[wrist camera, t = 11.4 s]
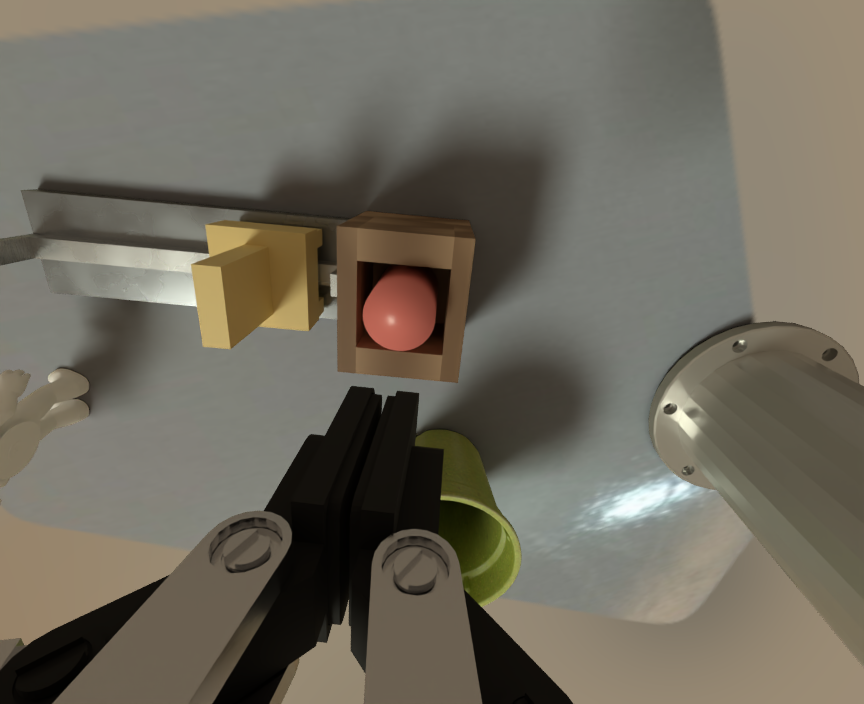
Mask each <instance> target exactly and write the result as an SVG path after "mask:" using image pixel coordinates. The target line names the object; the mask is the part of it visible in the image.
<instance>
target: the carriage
mask: <svg viewBox="0 0 864 704" xmlns="http://www.w3.org/2000/svg"><path fill="white" fill-rule="evenodd" d="M205 227H206V234H207V242H208V250H209V258H206V259H204V260H201V261H198V262H196V263H193V264H191V269H192V276H193V282H194V289H195V296H196V302H197V309H198V316H199V322H200V329H201V336H202V342H203V347H212V348H223V349H231V348H233V347H234V346H235V345H236V344H237V343H239V342H240V341H241V340H242V339H244V338H245V337H246V336H247V335H248V334H250V333H251V332H252V331H253V330H254V329H256V328H257V327H258V326H259V327H270V328H281V329H291V330H302V331H309V330H310V329H311V328H312V327H313V326H314V325H315V323H316V322H317V321H318V320H319V316H320V315H321V314H322V313H323V312H324V297H319V291H318V253H317V248H318V247H320V246H322V229H317V228H307V227H296V226H285V225H274V224H263V223H253V222H242V221H230V220H223V221H219V222H214V223H210V224H205Z"/></svg>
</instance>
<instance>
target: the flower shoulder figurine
mask: <svg viewBox="0 0 864 704" xmlns="http://www.w3.org/2000/svg"><path fill="white" fill-rule="evenodd" d="M24 373H25V372H24V371H22V370H15V371H12V370H6V371H4V372H3V373H2V374H1V375H0V488H1V487H4V486H5V485H6V484H7V483H8V481H9V479H10V478H11V477H13V476H15V475H16V474H18V473H19V472H20V471H21V470H22V469H23V468H24V467H25V466H26V465H27V464H28V463H29V462H30V460H31V459H32V457H33V456H34V454H35V452H36V450H37V447H38V444H39V441H40V440H41V439H42V438H44V437H45V436H46V435H48V434H49V433H50V432H51V431H52V430H54V429H57V428H61V427H65V426H68V425H72V424H75V423H77V422H79V421H81V420H83V419H85V418H87V417H88V416H89V408H88V406H87V404H86V403H85V402H83V401H81V400H79V399H73V398H76V397H78V396H81V395H83V394H84V393H86V392H87V391H88V390H89V382H88V380H87V379H86V378H85V377H84V376H82V375H81V374H78V373H76V372H74V371H71V370H68V369H62V368H60V369H57V370H55V371H53V372H52V373H51V374H50V375H49V376H48V380H49V382H50V383H49V384H47V385H45V386H43V387H40V388H39V389H37V390H35V391H34V392H33V393H31V394H30V395H28V396H27V397H25V398H24V399H22V400H21V401H20V402H19V403H18V400H17V398H18V397H20V396H21V395H22V394H23V392H24V391H25V389H26V386H27V383H28V381H29V379H30V376H31V375H30V374H28V373H26V374H24ZM23 374H24V375H23ZM22 375H23V376H22ZM50 409H51V410H50ZM1 501H2V500H1V499H0V504H1Z"/></svg>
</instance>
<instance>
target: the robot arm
mask: <svg viewBox="0 0 864 704" xmlns="http://www.w3.org/2000/svg"><path fill="white" fill-rule="evenodd" d="M418 404H419V393H413V392H403V391H397V393H396V396H388V397H387V399H386V402H385V405H384V408H383V411H382V395H377V394H375V391H374V388H366V387H357V386H351V387H350V389H349V391H348V393H347V395H346V397H345V399H344V400H343V402H342V404H341V406H340V408H339V410H338V412H337V414H336V416H335V418H334V420H333V421H332V423H331V425H330V427H329V429H328V431H327V433H326V435H325V436H323V435H314V434H311V435H309V436H308V437H307V439H306V440H305V442H304V444H303V445H302V447H301V449H300V450H299V452H298V454H297V455H296V457H295V459H294V460H293V462H292V464H291V466H290V467H289V469H288V471H287V472H286V474H285V476H284V477H283V479H282V481H281V482H280V484H279V486H278V488H277V489H276V491H275V493H274V494H273V496H272V498H271V499H270V501H269V503H268V505H267V506H266V508H265V510H264V511H252V512H245V513H242V514H238V515H235V516H232V517H230V518H228V519H227V520H225V521H223V522H221V523H219V524H218V525H217V526H216V527H215V528H214V529H212V530H211V531H210V532H209V533H208V534H207V535H206V536H205V537H204V538H203V539H202V540H201V542H200V543H199V544H198V545H197V546H196V547H195V548H194V549H193V550H192V551H191V552H190V554H189V555H188V556H187V557H186V558H185V559H184V560H183V561H182V562H181V563H180V564H179V566H178V567H177V568H176V569H175V570H174V571H173V572H172V573H171V574H170V575H168V576H166V577H164V578H162V579H160V580H158V581H156V582H153V583H151V584H149V585H147V586H145V587H143V588H141V589H139V590H137V591H134V592H132V593H130V594H128V595H126V596H124V597H121V598H119V599H117V600H115V601H113V602H111V603H109V604H107V605H105V606H103V607H100V608H98V609H96V610H94V611H92V612H90V613H88V614H85V615H83V616H81V617H79V618H77V619H75V620H73V621H71V622H68V623H66V624H64V625H62V626H60V627H58V628H55V629H54V630H52V631H50V632H48V633H46V634H45V635H43V636H41V637H39V638H38V639H36V640H34V641H32V642H31V643H30V644H28V645H24V644H23V642H22V639H21V638H17V639H9V640H0V704H281V703H282V701H283V699H284V697H285V694H286V692H287V690H288V688H289V686H290V684H291V682H292V680H293V678H294V676H295V673H296V670H297V667H298V664H299V657H301V656H302V655H304V654H305V653H306V652H308V651H309V650H311V649H312V648H314V647H315V646H316V644H317V642H325V643H327V640H328V637H329V633H330V630H331V626H332V624H338V625H341V624H342V621H343V618H344V615H345V611H346V607H347V604H348V600H349V626H351V652H352V653H353V655H354V656H355V658H356V659H357V661H358V663H359V664H360V666H361V667H362V669H363V670H364V672H365V674H366V675H365V676H366V677H365V693H364V704H573V703H572V701H571V700H570V699H569V697H568V696H567V695H566V694H565V693H564V692H563V691H562V690H561V689H560V688H559V687H558V686H557V685H556V683H554V682H553V680H552V679H551V678H550V677H549V676H548V675H547V674H546V673H545V672H544V671H543V670H542V669H541V668H540V667H539V666H538V665H537V664H536V663H535V662H534V661H533V660H532V659H531V658H530V657H529V656H528V655H527V654H526V653H525V651H523V649H522V648H521V647H520V646H519V645H518V644H517V643H516V642H515V641H514V640H513V639H512V638H511V637H510V636H509V635H508V634H507V633H506V632H505V631H504V630H503V629H502V628H501V627H500V626H499V625H498V624H497V623H496V622H495V621H494V619H493V618H492V617H490V616H489V614H488V613H486V611H485V610H484V609H483V608H482V607H481V606H480V605H479V604H478V603H477V602H476V601H475V600H474V599H473V598H472V597H471V596H470V595H469V594H468V593H467V592H466V591H465V590H464V589H463V583H462V577H461V570H460V564H459V561H458V558H457V555H456V552H455V551H454V549H453V548H452V547H451V545H450V544H449V543H448V542H447V541H446V540H445V539H443V538H442V537H440V536H439V535H438V532H439V517H440V502H441V487H442V472H443V458H444V449H439V448H430V447H421V446H415V440H416V428H417V416H418ZM381 412H382V414H381ZM648 421H649V435H650V438H651V441H652V444H653V447H654V449H655V450H656V452H657V453H658V455H659V456H660V458H661V459H662V461H663V462H664V463H665V464H666V466H667V467H668V468H669V469H670V470H671V471H672V472H673V473H674V474H676V475H677V476H678V477H679V478H681V479H683V480H685V481H687V482H689V483H691V484H694V485H696V486H700V487H704V488H708V489H713V490H717V491H718V493H719V494H720V495H721V496H722V497H723V499H724V500H725V501H726V502H727V503H728V505H729V506H730V507H731V508H732V509H733V511H734V512H735V513H736V514H737V515H738V517H739V518H740V519H741V520H742V521H743V523H744V524H745V525H746V526H747V528H748V529H749V530H750V531H751V532H752V534H753V535H754V536H755V537H756V538H757V540H758V541H759V542H760V543H761V544H762V546H763V547H764V548H765V549H766V550H767V552H768V553H769V554H770V555H771V556H772V558H773V559H774V560H775V561H776V563H777V564H778V565H779V566H780V567H781V569H782V570H783V571H784V572H785V573H786V575H787V576H788V577H789V578H790V579H791V581H792V582H793V583H794V584H795V585H796V587H797V588H798V589H799V590H800V592H801V593H802V594H803V595H804V596H805V597H806V599H807V600H808V601H809V602H810V604H811V605H812V606H813V607H814V608H815V610H816V611H817V612H818V613H819V614H820V616H821V617H822V618H823V619H824V620H825V622H826V623H827V624H828V625H829V627H830V628H831V629H832V630H833V631H834V632H835V634H836V635H837V636H838V637H839V639H840V640H841V641H842V642H843V643H844V645H845V646H846V647H847V648H848V649H849V651H850V652H851V653H852V654H853V656H854V657H855V658H856V659H857V660H858V662H859V663H860V664H861V665H862V666H863V667H864V386H862V385H860V384H859V376H858V372H857V370H856V367H855V364H854V361H853V359H852V358H851V356H850V355H849V354H848V352H847V351H846V350H845V349H844V347H843V346H841V345H840V344H839V343H837V342H836V341H834V340H833V339H832V338H831V337H829V336H827V335H825V334H823V333H820V332H818V331H816V330H814V329H812V328H808V327H805V326H802V325H798V324H795V323H785V322H776V321H774V322H762V323H753V324H749V325H744V326H740V327H736V328H733V329H730V330H728V331H725V332H723V333H721V334H718V335H716V336H713V337H712V338H710V339H708V340H707V341H705V342H703V343H702V344H700V345H698V346H696V347H695V348H694V349H693V350H691V351H690V352H689V353H688V354H686V355H685V356H684V357H683V358H681V359H680V360H679V361H678V362H677V363H676V365H675V366H674V367H673V368H672V369H671V370H670V371H669V372H668V373H667V375H666V376H665V378H664V379H663V381H662V382H661V384H660V386H659V387H658V389H657V391H656V393H655V396H654V398H653V401H652V403H651V408H650V413H649V419H648Z"/></svg>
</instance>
